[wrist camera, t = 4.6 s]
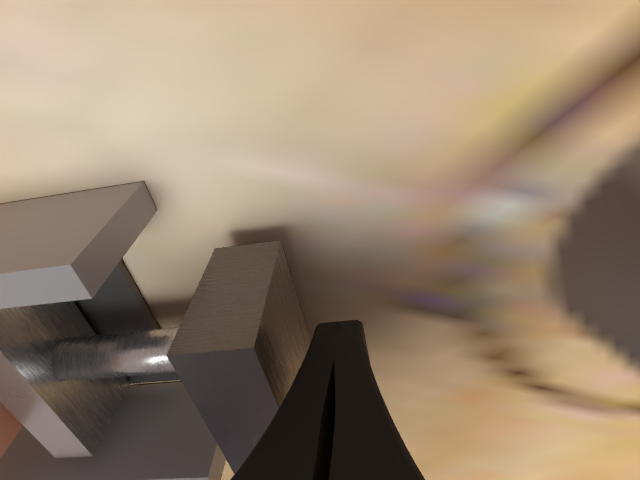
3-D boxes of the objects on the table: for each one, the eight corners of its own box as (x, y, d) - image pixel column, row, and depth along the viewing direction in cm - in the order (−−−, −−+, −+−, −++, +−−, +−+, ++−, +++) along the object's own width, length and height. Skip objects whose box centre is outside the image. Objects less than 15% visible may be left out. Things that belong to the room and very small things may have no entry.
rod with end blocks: (323, 369, 16) (314, 495, 13) (96, 386, 18) (28, 502, 14) (280, 222, 13) (249, 337, 9) (1, 259, 14) (-124, 371, 11)
